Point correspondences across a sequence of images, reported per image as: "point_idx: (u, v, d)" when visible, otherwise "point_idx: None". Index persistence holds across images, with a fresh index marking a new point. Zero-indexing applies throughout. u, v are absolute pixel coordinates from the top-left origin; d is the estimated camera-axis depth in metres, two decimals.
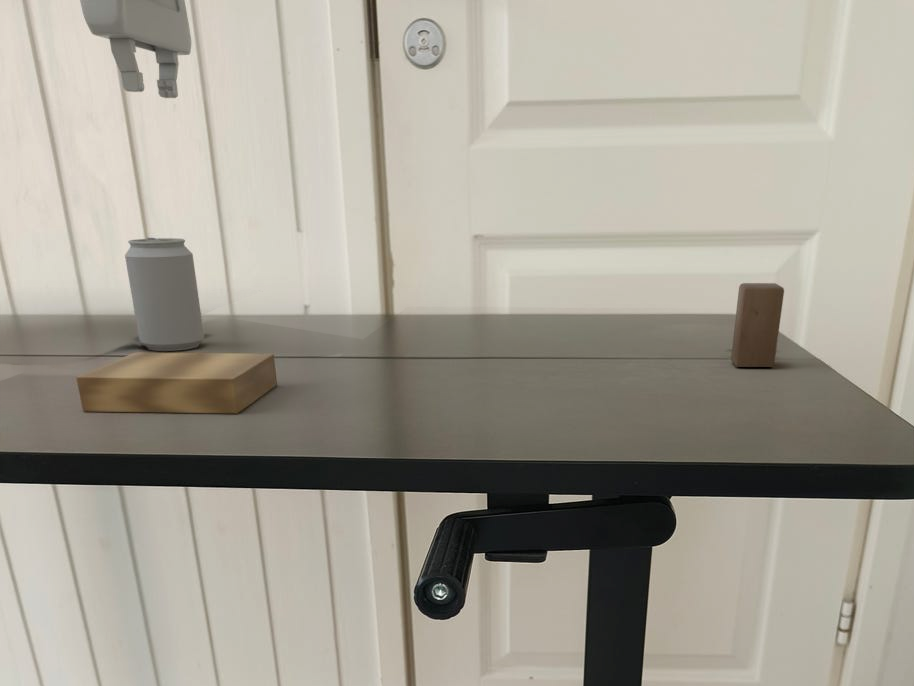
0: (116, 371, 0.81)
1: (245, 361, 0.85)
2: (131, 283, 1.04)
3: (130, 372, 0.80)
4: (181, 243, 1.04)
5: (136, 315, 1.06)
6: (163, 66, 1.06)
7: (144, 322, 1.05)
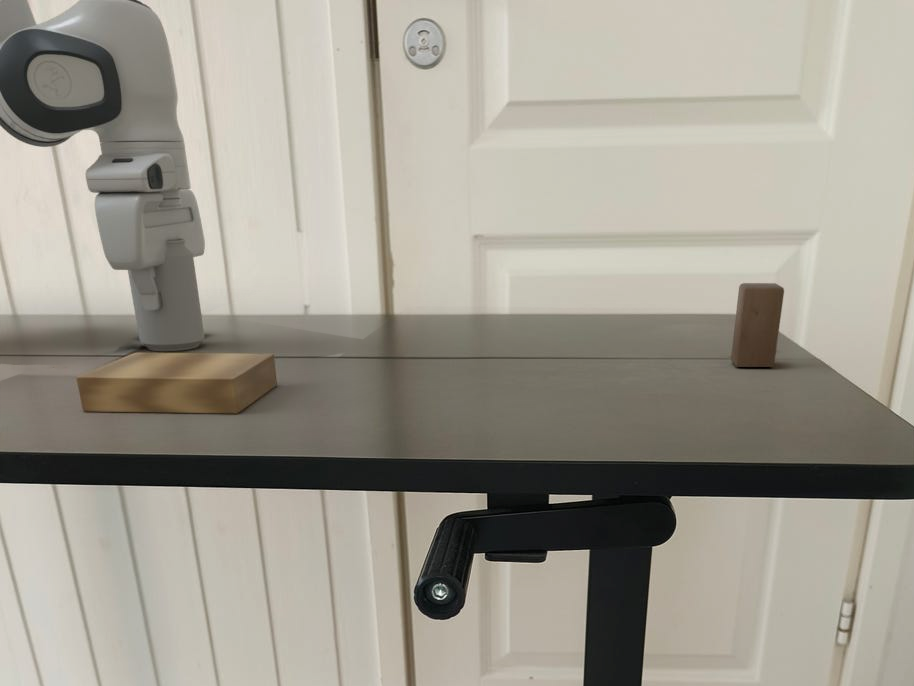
0: (116, 371, 0.81)
1: (245, 361, 0.85)
2: (131, 283, 1.04)
3: (130, 372, 0.80)
4: (182, 243, 1.04)
5: (136, 315, 1.06)
6: None
7: (145, 322, 1.05)
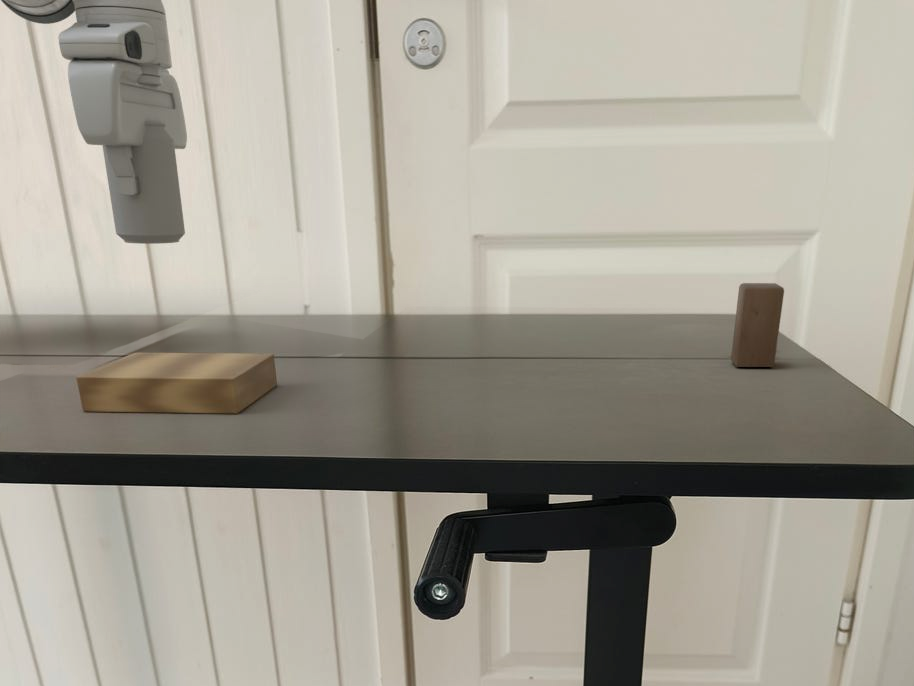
0: (116, 371, 0.81)
1: (245, 361, 0.85)
2: (107, 168, 0.98)
3: (130, 372, 0.80)
4: (162, 126, 0.98)
5: (112, 203, 1.00)
6: None
7: (121, 211, 1.00)
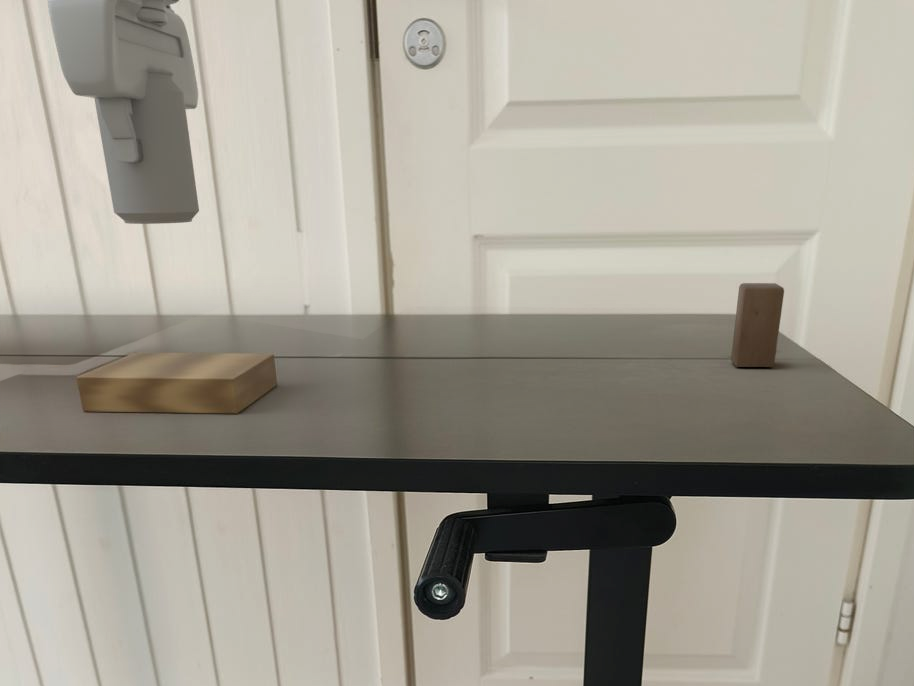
0: (116, 371, 0.81)
1: (245, 361, 0.85)
2: (102, 129, 0.79)
3: (130, 372, 0.80)
4: (168, 75, 0.79)
5: (109, 174, 0.80)
6: None
7: (120, 183, 0.80)
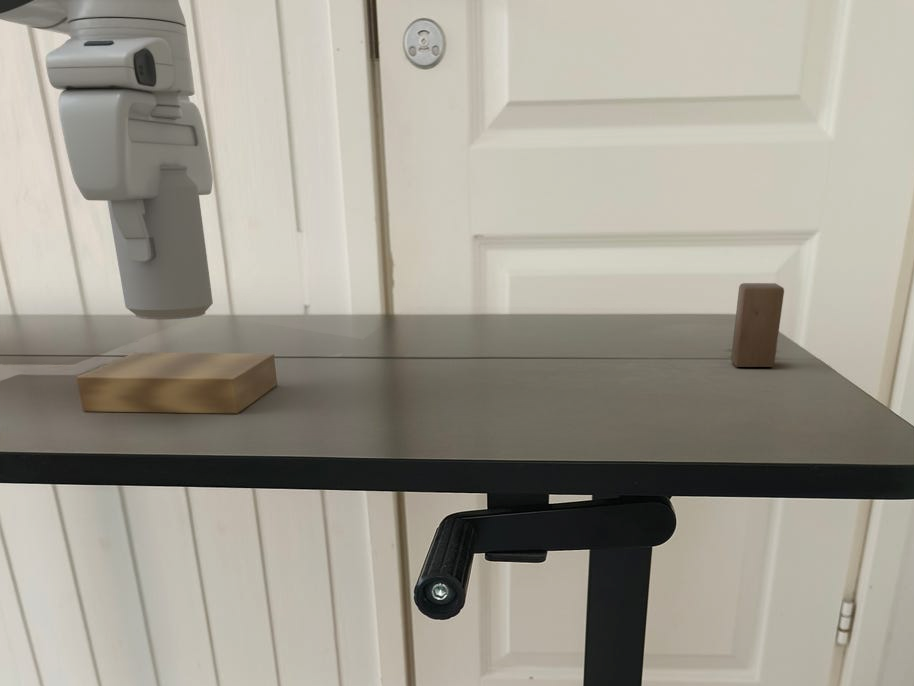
0: (116, 371, 0.81)
1: (245, 361, 0.85)
2: (113, 225, 0.76)
3: (130, 372, 0.80)
4: (183, 170, 0.76)
5: (120, 270, 0.78)
6: None
7: (132, 280, 0.77)
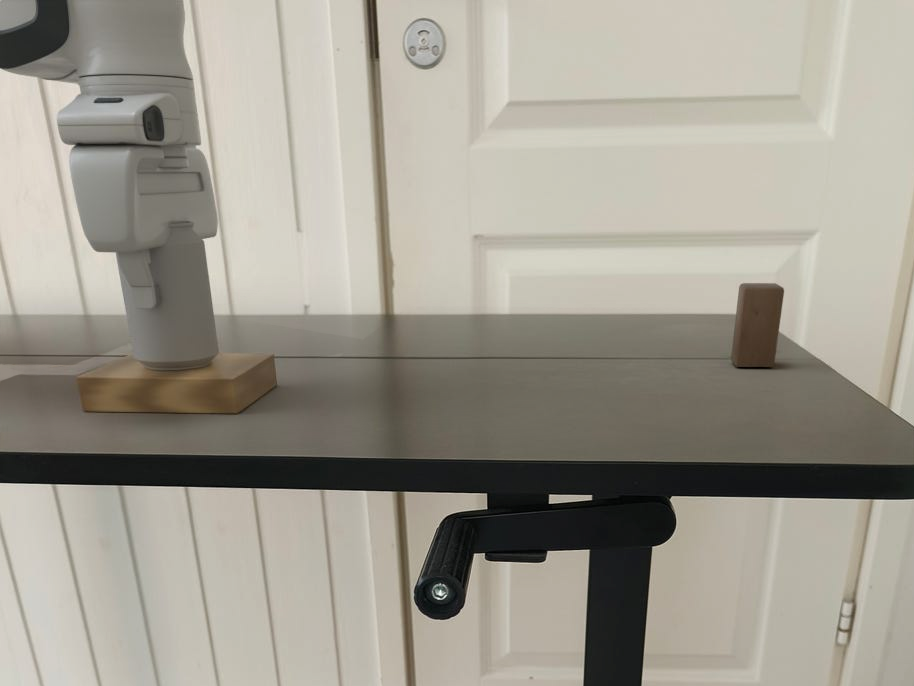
0: (116, 371, 0.81)
1: (245, 361, 0.85)
2: (122, 280, 0.78)
3: (130, 372, 0.80)
4: (189, 227, 0.78)
5: (129, 323, 0.80)
6: None
7: (140, 333, 0.79)
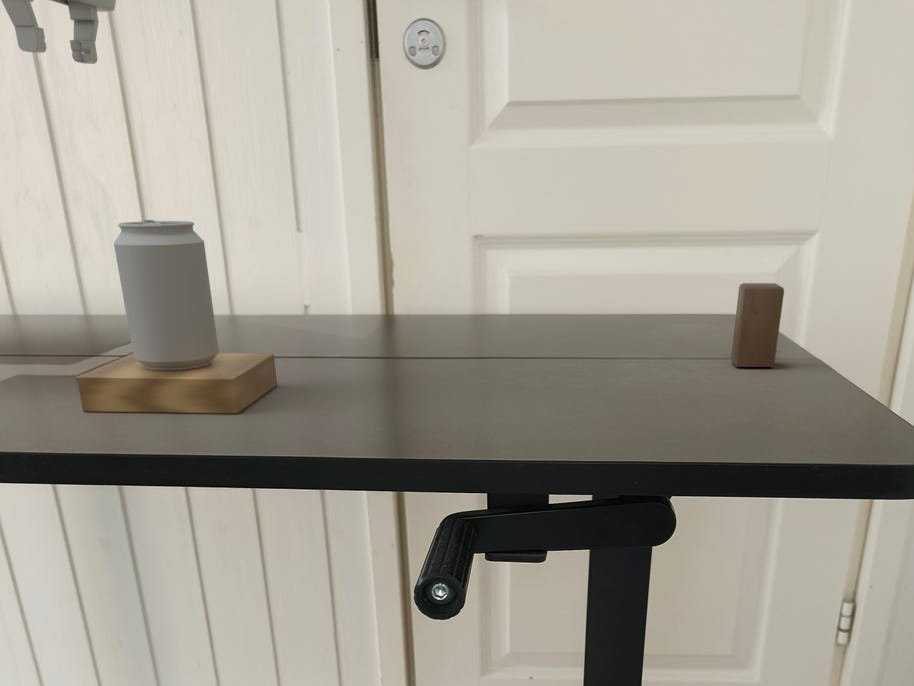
0: (116, 371, 0.81)
1: (245, 361, 0.85)
2: (122, 280, 0.78)
3: (130, 372, 0.80)
4: (189, 227, 0.78)
5: (129, 323, 0.80)
6: (78, 24, 0.86)
7: (140, 333, 0.79)
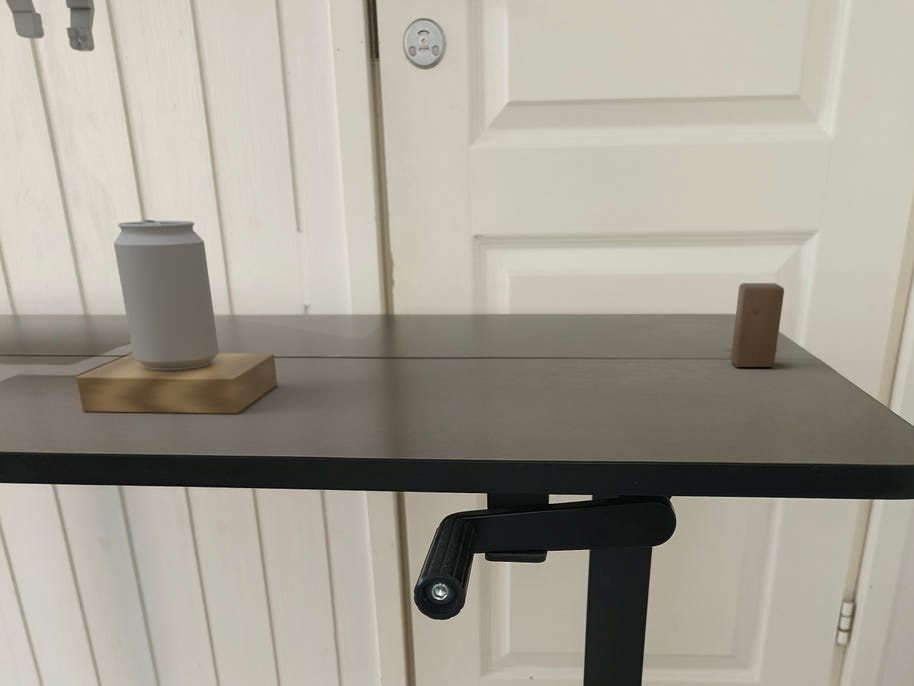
0: (116, 371, 0.81)
1: (245, 361, 0.85)
2: (122, 280, 0.78)
3: (130, 372, 0.80)
4: (189, 226, 0.78)
5: (129, 323, 0.80)
6: (75, 12, 0.87)
7: (140, 333, 0.79)
